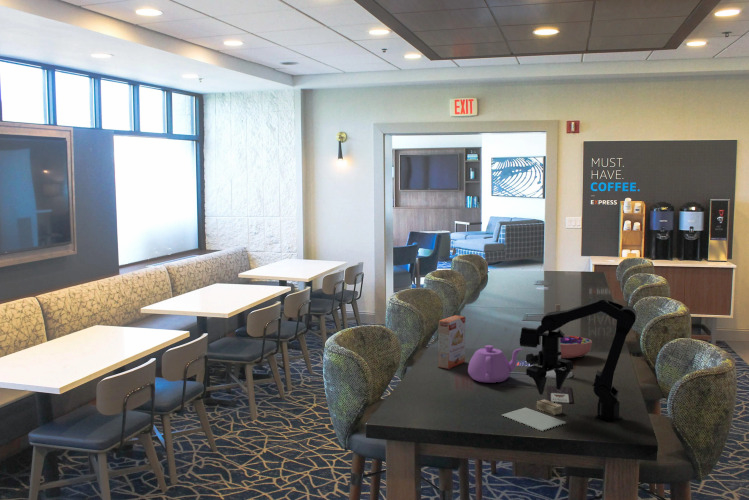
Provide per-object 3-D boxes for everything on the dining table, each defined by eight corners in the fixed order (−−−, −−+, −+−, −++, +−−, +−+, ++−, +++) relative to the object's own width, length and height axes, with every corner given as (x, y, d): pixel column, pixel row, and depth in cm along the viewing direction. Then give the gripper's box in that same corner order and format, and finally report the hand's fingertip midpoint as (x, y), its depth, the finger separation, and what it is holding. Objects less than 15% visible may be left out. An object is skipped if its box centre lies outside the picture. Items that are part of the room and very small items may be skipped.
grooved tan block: (561, 413, 241) (562, 404, 241) (554, 416, 239) (554, 407, 239) (544, 407, 248) (544, 398, 248) (536, 409, 246) (536, 401, 245)
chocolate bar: (571, 387, 268) (572, 402, 250) (571, 389, 268) (572, 404, 251) (547, 385, 270) (547, 400, 253) (547, 387, 270) (547, 403, 253)
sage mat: (566, 423, 231) (566, 422, 231) (541, 431, 224) (541, 430, 224) (525, 408, 246) (525, 407, 246) (501, 416, 239) (501, 414, 239)
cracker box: (449, 369, 295) (449, 321, 292) (437, 367, 298) (437, 320, 296) (465, 362, 306) (466, 316, 303) (454, 360, 309) (454, 314, 307)
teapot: (522, 389, 268) (522, 354, 266) (466, 386, 272) (466, 352, 271) (521, 372, 289) (522, 340, 288) (469, 370, 294) (469, 338, 292)
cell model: (596, 362, 302) (597, 337, 301) (551, 363, 302) (551, 338, 301) (585, 352, 319) (586, 328, 318) (542, 353, 319) (542, 329, 318)
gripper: (549, 340, 253) (549, 381, 254) (514, 348, 242) (514, 391, 244) (574, 346, 244) (573, 388, 245) (539, 355, 233) (538, 399, 235)
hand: (549, 391), depth 243 cm, fingers open, 9 cm apart
